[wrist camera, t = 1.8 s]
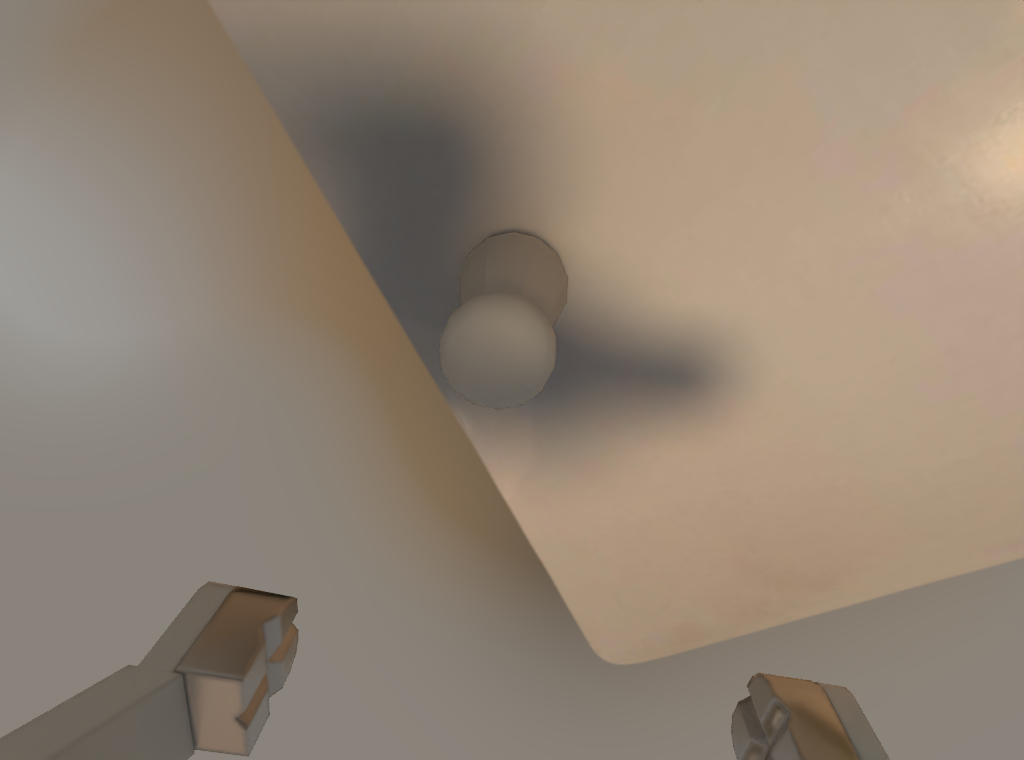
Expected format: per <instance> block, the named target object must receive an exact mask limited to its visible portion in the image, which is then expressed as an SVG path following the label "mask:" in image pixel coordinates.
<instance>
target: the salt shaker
mask: <svg viewBox="0 0 1024 760" xmlns="http://www.w3.org/2000/svg"><path fill="white" fill-rule="evenodd" d="M459 281H460V297H461V306H460V307H459V308H457V309H456V310H455V311H454V312H453V313H452V314H451V315H450V317H449V320H448V322H447V324H446V326H445V328H444V330H443V333H442V335H441V337H440V357H441V369H442V371H443V372H444V374H445V376H446V378H447V380H448V381H449V383H450V385H451V387H452V389H453V390H454V391H456V392H457V393H459V394H460V395H461V396H463V397H464V398H466V399H467V400H468V401H470V402H471V403H473V404H476V405H480V406H484V407H488V408H492V409H496V410H498V409H504V408H509V407H514V406H520V405H522V404H524V403H525V402H527V401H528V400H530V399H531V398H533V397H534V396H536V395H537V394H539V393H540V392H541V391H542V389H543V387H544V386H545V384H546V382H547V380H548V378H549V376H550V375H551V373H552V371H553V369H554V367H555V358H556V335H555V333H554V331H553V329H552V328H553V326H554V324H555V322H556V320H557V319H558V317H559V315H560V313H561V311H562V309H563V307H564V306H565V304H566V302H567V284H568V276H567V274H566V272H565V270H564V267H563V265H562V263H561V261H560V258H559V256H558V254H557V253H556V252H554V251H553V250H552V249H551V248H550V247H548V246H547V245H546V244H545V243H544V242H542V241H541V240H540V239H539V238H538V237H533V236H529V235H525V234H521V233H516V232H511V233H506V234H502V235H497V236H492V237H488V238H487V239H486V240H485V241H483V242H482V243H481V244H480V245H479V246H478V247H476V248H475V249H474V250H473V251H472V252H471V253H469V256H468V258H467V260H466V262H465V264H464V266H463V269H462V271H461V273H460V275H459Z"/></svg>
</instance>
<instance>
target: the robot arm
mask: <svg viewBox="0 0 1024 760" xmlns="http://www.w3.org/2000/svg"><path fill="white" fill-rule="evenodd" d="M297 613H298V607H297V598H294V597H290V596H285V595H280V594H274V593H269V592H264V591H259V590H254V589H249V588H244V587H238V586H232V585H227V584H220V583H215V582H208V583H206V584H205V585H204V586H202V587H201V588H199V589H198V590H197V592H196V593H195V594H194V596H193V597H192V598H191V599H190V601H189V602H188V603H187V604H186V606H185V607H184V608H183V609H182V611H181V612H180V613H179V615H178V616H177V617H176V618H175V620H174V621H173V622H172V624H171V625H170V626H169V627H168V629H167V630H166V631H165V632H164V634H163V635H162V636H161V637H160V639H159V640H158V641H157V643H156V644H155V645H154V646H153V647H152V649H151V650H150V652H149V653H148V654H147V655H146V656H145V658H144V659H143V660H142V661H141V663H140V664H139V665H138V666H132V665H127V666H126V667H124V668H122V669H120V670H119V671H117V672H115V673H113V674H112V675H110V676H108V677H106V678H105V679H103V680H101V681H100V682H98V683H96V684H94V685H93V686H91V687H89V688H87V689H86V690H84V691H82V692H80V693H79V694H77V695H75V696H73V697H72V698H70V699H68V700H66V701H65V702H63V703H61V704H59V705H58V706H56V707H54V708H52V709H51V710H49V711H47V712H45V713H44V714H42V715H40V716H38V717H37V718H35V719H33V720H32V721H30V722H28V723H27V724H25V725H23V726H21V727H19V728H18V729H16V730H14V731H12V732H11V733H9V734H7V735H5V736H4V737H2V738H0V760H187V759H188V758H189V757H191V756H192V755H193V754H194V750H203V751H210V752H218V753H226V754H234V755H241V756H249V755H250V753H251V751H252V749H253V747H254V745H255V743H256V741H257V739H258V737H259V735H260V733H261V731H262V729H263V726H264V725H265V723H266V720H267V719H268V716H269V698H270V697H271V696H272V695H274V694H275V693H276V692H278V691H279V690H280V689H282V688H283V685H284V683H285V681H286V679H287V677H288V675H289V673H290V670H291V667H292V664H293V660H294V658H295V655H296V651H297V644H298V629H297V628H296V627H295V626H294V624H293V623H292V622H293V620H294V618H295V616H296V614H297ZM747 687H748V690H749V693H750V696H749V697H747V698H745V699H744V700H741V701H739V702H738V704H737V706H736V708H735V711H734V712H733V715H732V727H731V734H732V741H733V747H734V750H735V754H736V757H737V760H890V759H889V757H888V755H887V754H886V752H885V750H884V748H883V747H882V745H881V743H880V741H879V739H878V738H877V736H876V734H875V732H874V731H873V729H872V727H871V725H870V724H869V722H868V720H867V718H866V716H865V715H864V713H863V711H862V709H861V708H860V706H859V704H858V702H857V701H856V699H855V697H854V696H853V694H852V693H851V692H850V691H849V690H848V689H847V688H846V687H842V686H837V685H830V684H824V683H818V682H812V681H810V680H803V679H797V678H790V677H783V676H776V675H770V674H762V673H758V674H756V675H754V676H752V677H751V679H750V681H749V683H748V685H747Z"/></svg>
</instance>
